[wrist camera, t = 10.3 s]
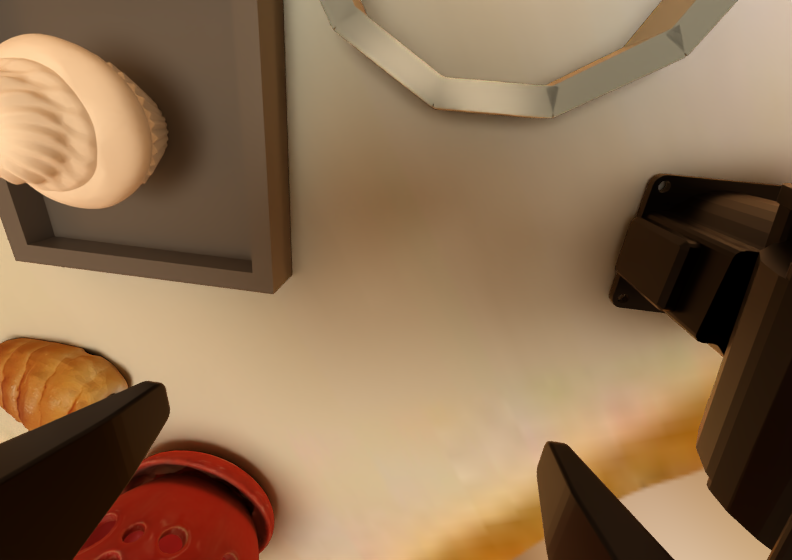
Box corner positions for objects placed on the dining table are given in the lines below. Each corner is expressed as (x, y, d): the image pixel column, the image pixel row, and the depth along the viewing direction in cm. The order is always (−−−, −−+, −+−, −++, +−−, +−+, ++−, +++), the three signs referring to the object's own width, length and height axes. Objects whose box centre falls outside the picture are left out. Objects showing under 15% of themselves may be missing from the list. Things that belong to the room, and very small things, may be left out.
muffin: (50, 62, 17) (-189, 28, 10) (171, 39, 16) (-11, -14, 10) (108, 199, 19) (-59, 239, 13) (216, 186, 18) (94, 222, 12)
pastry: (9, 385, 28) (-54, 424, 24) (2, 311, 25) (-70, 342, 21) (131, 429, 28) (87, 473, 24) (138, 360, 25) (89, 399, 22)
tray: (281, -41, 15) (253, -69, 13) (292, 274, 21) (273, 294, 19) (-31, -60, 16) (-109, -90, 14) (60, 245, 22) (15, 260, 20)
